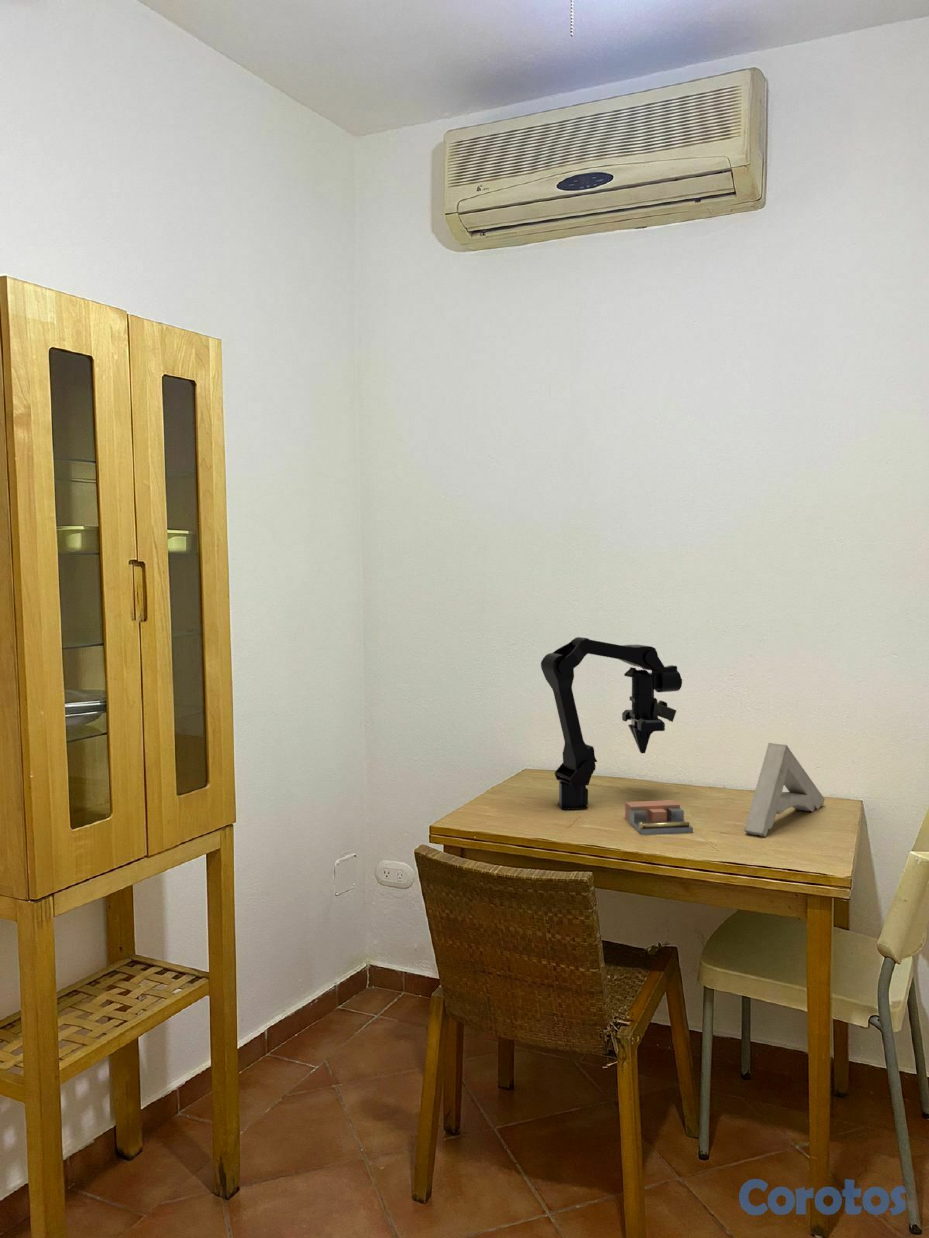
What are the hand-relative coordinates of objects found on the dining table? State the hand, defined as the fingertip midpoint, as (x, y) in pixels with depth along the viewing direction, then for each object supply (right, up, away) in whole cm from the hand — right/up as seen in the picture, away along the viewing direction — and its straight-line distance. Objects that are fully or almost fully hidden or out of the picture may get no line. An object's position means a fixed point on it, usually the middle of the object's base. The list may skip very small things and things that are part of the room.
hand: (642, 752), depth 257 cm
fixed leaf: (-1, -14, -28) cm, 32 cm away
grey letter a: (+31, -14, -21) cm, 39 cm away
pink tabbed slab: (-1, -13, -21) cm, 25 cm away
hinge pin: (0, -14, -31) cm, 34 cm away
